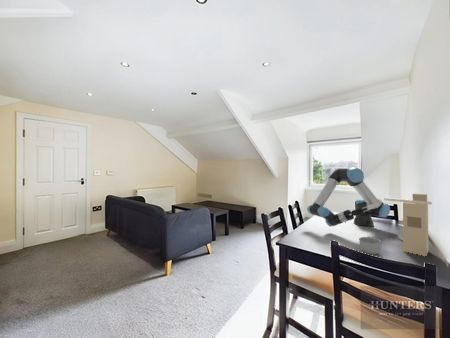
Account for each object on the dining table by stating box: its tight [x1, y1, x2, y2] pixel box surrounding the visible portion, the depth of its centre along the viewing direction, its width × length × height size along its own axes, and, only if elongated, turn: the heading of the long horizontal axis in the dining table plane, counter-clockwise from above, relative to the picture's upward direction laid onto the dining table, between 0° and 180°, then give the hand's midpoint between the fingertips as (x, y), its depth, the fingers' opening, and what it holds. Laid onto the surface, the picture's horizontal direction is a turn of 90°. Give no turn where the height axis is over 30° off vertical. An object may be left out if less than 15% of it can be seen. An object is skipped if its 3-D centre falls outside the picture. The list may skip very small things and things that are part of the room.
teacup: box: [359, 236, 382, 256], centre depth 121 cm, size 14×11×8 cm
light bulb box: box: [397, 223, 403, 242], centre depth 139 cm, size 11×7×11 cm, turn 168°
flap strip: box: [383, 193, 433, 205], centre depth 125 cm, size 4×22×6 cm, turn 40°
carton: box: [402, 202, 429, 257], centre depth 121 cm, size 12×10×30 cm
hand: (375, 205), depth 137 cm, fingers open, 13 cm apart
